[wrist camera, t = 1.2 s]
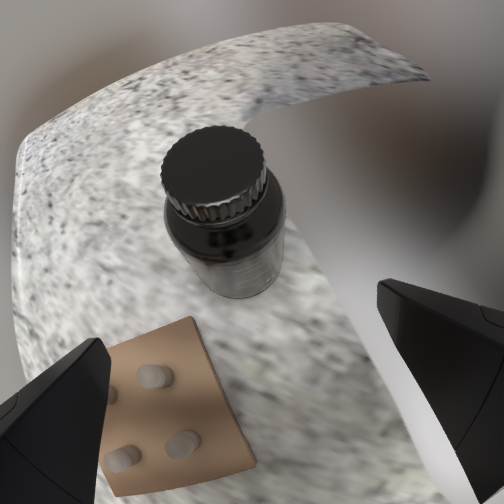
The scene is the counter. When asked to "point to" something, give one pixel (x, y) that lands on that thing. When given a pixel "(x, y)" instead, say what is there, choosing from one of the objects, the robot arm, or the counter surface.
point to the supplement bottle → (225, 210)
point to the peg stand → (167, 415)
